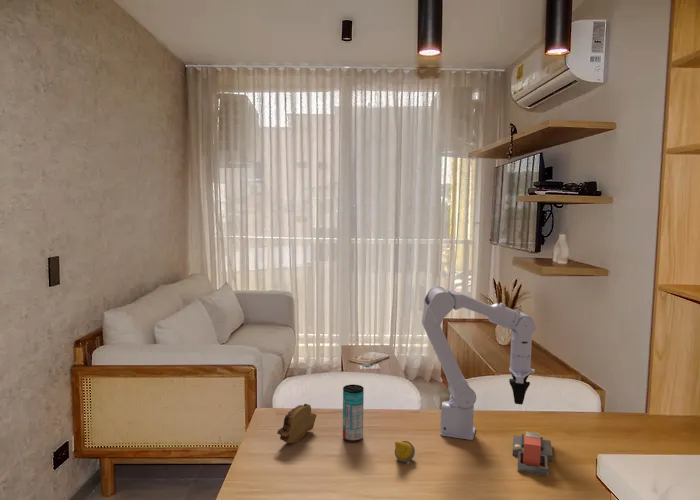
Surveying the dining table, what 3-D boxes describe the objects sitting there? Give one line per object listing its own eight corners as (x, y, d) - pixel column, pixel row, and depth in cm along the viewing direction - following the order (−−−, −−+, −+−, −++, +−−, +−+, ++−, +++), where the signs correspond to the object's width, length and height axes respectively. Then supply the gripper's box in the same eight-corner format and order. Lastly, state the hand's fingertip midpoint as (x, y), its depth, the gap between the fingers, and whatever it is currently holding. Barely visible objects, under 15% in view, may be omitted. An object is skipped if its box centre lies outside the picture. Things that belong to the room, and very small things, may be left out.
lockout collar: (517, 471, 132) (517, 464, 131) (517, 458, 138) (518, 451, 138) (547, 476, 129) (547, 469, 129) (546, 462, 136) (546, 455, 136)
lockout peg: (523, 469, 133) (524, 443, 132) (523, 462, 136) (524, 436, 136) (539, 472, 131) (540, 446, 131) (539, 464, 135) (540, 439, 134)
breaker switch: (525, 447, 141) (525, 435, 141) (525, 442, 144) (525, 431, 144) (539, 449, 140) (539, 437, 140) (539, 444, 143) (539, 433, 143)
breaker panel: (512, 454, 140) (512, 446, 140) (513, 440, 149) (513, 432, 148) (552, 461, 137) (552, 452, 137) (550, 445, 145) (550, 438, 145)
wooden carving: (304, 426, 157) (304, 394, 156) (317, 429, 155) (317, 397, 154) (274, 450, 142) (273, 415, 141) (288, 453, 140) (288, 418, 139)
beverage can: (357, 432, 153) (357, 383, 152) (366, 440, 148) (367, 390, 146) (339, 435, 151) (339, 386, 149) (348, 444, 145) (348, 393, 144)
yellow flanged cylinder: (420, 462, 137) (406, 448, 130) (402, 468, 138) (387, 455, 131) (416, 443, 140) (402, 429, 134) (398, 449, 142) (384, 435, 135)
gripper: (535, 363, 143) (533, 410, 144) (534, 348, 157) (532, 391, 158) (509, 360, 145) (507, 406, 147) (510, 346, 159) (508, 389, 160)
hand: (518, 398), depth 152 cm, fingers open, 7 cm apart
